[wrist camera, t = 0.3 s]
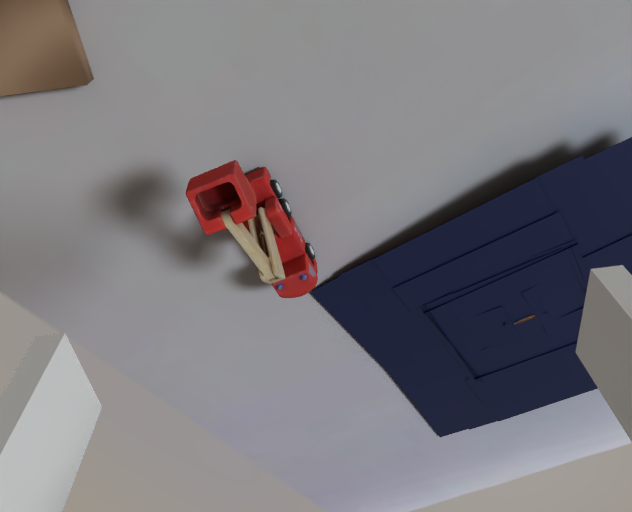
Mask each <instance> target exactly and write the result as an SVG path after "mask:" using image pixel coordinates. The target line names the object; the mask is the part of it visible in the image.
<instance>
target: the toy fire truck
mask: <svg viewBox="0 0 632 512" xmlns="http://www.w3.org/2000/svg"><path fill="white" fill-rule="evenodd" d="M270 177H271V176H270V174H269V172H268V170H267V168H266V167H262V168H260V169H258V170H255V171H253V172H251V173H249V174H247V175H244V173H243V171H242V169H241V167H240V166H239V164H238V162H237V161H236V160H234V161H231V162H229V163H227V164H224V165H222V166H220V167H218V168H215V169H213V170H210V171H208V172H205V173H203V174H200V175H198V176H196V177H193V178H191V179H190V181H189V183H188V187H187V190H186V196H187V198H188V200H189V202H190V205H191V207H192V208H193V210H194V212H195V214H196V216H197V218H198V220H199V222H200V225H201V226H202V229H203V230H204V232H205V233H206V235H210V234H213V233H216V232H218V231H221V230H223V229H228V230H229V231H230V232H231V234H232V235H233V236H234V238H235V239H236V240H237V242H238V243H239V244H240V245H241V247H242V248H243V249H244V251H245V252H246V253H247V254H248V256H249V257H250V258H251V260H252V261H253V262H254V264H255V265H256V266H257V268H258V273H259V276H260V279H261V280H262V281H263V282H265V283H268V284H272V285H273V287H274V288H275V290H276V291H277V293H278V295H279V296H280V297H282V298H295V297H300V296H303V295H305V294H307V293H308V292H310V291H311V290H312V289H313V288H314V286H315V285H316V284H317V280H318V279H317V263H316V260H315V259H314V258H315V253H314V250H313V248H312V246H311V245H310V243H306V244H305V240H304V238H303V236H302V234H301V232H300V230H299V229H298V227H297V225H296V223H295V221H294V219H293V217H292V216H291V209H290V206H289V204H288V202H287V200H286V199H281V200H279V201H278V198H280V197H282V191H281V188H280V185H279V183H278V182H277V181H276V180H272V181H270Z"/></svg>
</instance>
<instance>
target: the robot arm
mask: <svg viewBox="0 0 632 512" xmlns="http://www.w3.org/2000/svg"><path fill="white" fill-rule="evenodd" d="M576 354H577V355H578V357H579V359H580V360H581V362H582V363H583V365H584V367H585V368H586V370H587V371H588V373H589V375H590V376H591V378H592V379H593V381H594V383H595V384H596V386H597V387H598V389H599V390H600V392H601V394H602V395H603V397H604V398H605V400H606V402H607V403H608V405H609V406H610V408H611V410H612V411H613V413H614V414H615V416H616V417H617V419H618V421H619V422H620V424H621V425H622V427H623V429H624V430H625V432H626V433H627V435H628V437H629V438H630V440H631V441H632V275H631V274H630V273H629V272H628V271H627V269H626V268H625V267H624V266H623V265H619V266H611V267H603V268H594V269H591V270H590V275H589V281H588V286H587V292H586V297H585V303H584V308H583V314H582V319H581V325H580V330H579V336H578V341H577V347H576ZM101 408H102V406H101V404H100V402H99V400H98V398H97V396H96V394H95V392H94V390H93V388H92V386H91V385H90V382H89V380H88V378H87V376H86V374H85V372H84V371H83V368H82V366H81V364H80V362H79V360H78V358H77V356H76V354H75V352H74V351H73V348H72V347H71V345H70V342H69V340H68V338H67V336H66V334H65V333H61V334H53V335H46V336H37V337H35V338H34V340H33V342H32V343H31V345H30V347H29V348H28V350H27V352H26V353H25V355H24V357H23V358H22V360H21V362H20V364H19V365H18V367H17V369H16V370H15V372H14V374H13V375H12V377H11V379H10V380H9V382H8V384H7V385H6V387H5V389H4V390H3V392H2V394H1V395H0V512H62V511H63V508H64V506H65V503H66V501H67V498H68V495H69V493H70V490H71V487H72V485H73V482H74V480H75V477H76V474H77V471H78V469H79V466H80V463H81V461H82V458H83V456H84V453H85V451H86V448H87V445H88V443H89V439H90V437H91V434H92V432H93V429H94V427H95V424H96V422H97V419H98V416H99V414H100V411H101Z"/></svg>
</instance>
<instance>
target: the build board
mask: <svg viewBox="0 0 632 512" xmlns="http://www.w3.org/2000/svg"><path fill="white" fill-rule="evenodd" d="M93 79H94V78H93V75H92V72H91V69H90V66H89V63H88V60H87V57H86V54H85V51H84V48H83V45H82V42H81V39H80V36H79V33H78V30H77V27H76V24H75V21H74V18H73V15H72V12H71V9H70V6H69V3H68V0H0V96H6V95H13V94H21V93H29V92H37V91H44V90H52V89H60V88H67V87H75V86H83V85H87V84H88V83H90V82H91V81H92V80H93Z"/></svg>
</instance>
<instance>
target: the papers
mask: <svg viewBox="0 0 632 512" xmlns="http://www.w3.org/2000/svg"><path fill="white" fill-rule="evenodd" d="M619 265H623V266H624V267H625V268H626V269H627V271H628V272H629V273H630V274H631V275H632V137H631V138H629V139H627V140H625V141H623V142H621V143H619V144H616V145H614V146H612V147H610V148H608V149H606V150H604V151H602V152H600V153H597V154H595V155H593V156H591V157H589V158H587V159H585V160H584V158H583V155H582V156H580V157H578V158H576V159H574V160H571V161H569V162H567V163H565V164H563V165H561V166H559V167H557V168H555V169H553V170H550V171H548V172H546V173H544V174H542V175H540V176H538V177H536V178H534V179H531V180H529V181H528V182H527V183H525V184H523V185H521V186H519V187H517V188H515V189H513V190H511V191H509V192H507V193H505V194H503V195H501V196H499V197H497V198H495V199H493V200H491V201H489V202H487V203H485V204H483V205H481V206H479V207H477V208H475V209H473V210H471V211H469V212H467V213H465V214H463V215H461V216H459V217H457V218H455V219H453V220H451V221H449V222H447V223H445V224H443V225H441V226H439V227H437V228H435V229H433V230H431V231H429V232H427V233H425V234H423V235H421V236H419V237H417V238H415V239H413V240H411V241H409V242H407V243H405V244H403V245H401V246H399V247H397V248H395V249H393V250H391V251H389V252H387V253H385V254H383V255H381V256H377V257H375V258H373V259H371V260H369V261H367V262H365V263H363V264H361V265H359V266H357V267H355V268H353V269H351V270H349V271H347V272H345V273H343V274H341V275H340V276H339V277H338V278H336V279H334V280H332V281H330V282H328V283H327V284H325V285H323V286H321V287H319V288H318V289H316V290H314V291H312V292H310V293H311V294H312V295H313V296H314V297H315V298H316V299H317V300H318V301H319V302H320V303H321V304H322V305H323V306H324V307H325V308H326V309H327V310H328V311H329V312H330V313H331V314H332V315H333V316H334V317H335V318H336V319H337V320H338V321H339V322H340V323H341V324H342V326H343V327H344V328H345V329H346V330H347V331H348V332H349V333H350V334H351V335H352V336H353V337H354V338H355V339H356V340H357V341H358V342H359V343H360V344H361V345H362V346H363V347H364V348H365V349H366V350H367V351H368V352H369V353H370V354H371V355H372V356H373V357H374V358H375V359H376V360H377V361H378V362H379V363H380V364H381V365H382V366H383V367H384V368H385V369H386V370H387V372H388V373H389V374H390V375H391V377H392V378H393V379H394V380H395V382H396V383H397V384H398V385H399V387H400V388H401V389H402V390H403V392H404V393H405V394H406V395H407V397H408V398H409V399H410V400H411V402H412V403H413V404H414V405H415V407H416V408H417V409H418V410H419V412H420V413H421V414H422V415H423V416H424V418H425V419H426V420H427V421H428V423H429V424H430V425H431V426H432V428H433V429H434V430H435V431H436V433H437V434H438V435H439V436H440V437H442V436H446V435H449V434H452V433H456V432H459V431H462V430H465V429H472V428H476V427H479V426H482V425H486V424H489V423H492V422H496V421H501V420H504V419H507V418H510V417H513V416H516V415H519V414H522V413H525V412H528V411H531V410H534V409H537V408H540V407H543V406H546V405H549V404H552V403H555V402H558V401H561V400H564V399H567V398H570V397H573V396H576V395H579V394H582V393H585V392H588V391H591V390H594V389H597V388H598V387H597V386H596V384H595V383H594V381H593V379H592V378H591V376H590V375H589V373H588V371H587V370H586V368H585V367H584V365H583V363H582V362H581V360H580V359H579V357H578V355H577V354H576V347H577V341H578V336H579V330H580V325H581V319H582V314H583V308H584V303H585V297H586V292H587V286H588V281H589V275H590V270H591V269H594V268H603V267H611V266H619Z"/></svg>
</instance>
